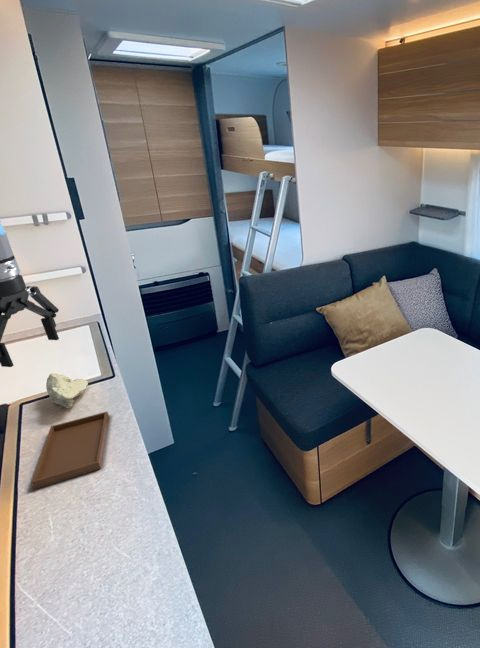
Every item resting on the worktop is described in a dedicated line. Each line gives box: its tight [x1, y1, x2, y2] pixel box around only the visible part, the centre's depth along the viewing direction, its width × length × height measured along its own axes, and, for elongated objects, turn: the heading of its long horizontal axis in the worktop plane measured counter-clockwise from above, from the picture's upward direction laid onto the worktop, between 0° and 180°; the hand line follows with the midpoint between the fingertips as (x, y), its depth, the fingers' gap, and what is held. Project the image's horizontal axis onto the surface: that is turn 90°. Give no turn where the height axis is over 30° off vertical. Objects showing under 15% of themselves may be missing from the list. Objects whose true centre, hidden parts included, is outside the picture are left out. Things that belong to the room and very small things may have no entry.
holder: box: [30, 411, 110, 490], centre depth 105 cm, size 13×21×2 cm, turn 26°
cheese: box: [45, 372, 89, 409], centre depth 123 cm, size 15×7×15 cm
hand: (32, 352), depth 109 cm, fingers open, 13 cm apart
